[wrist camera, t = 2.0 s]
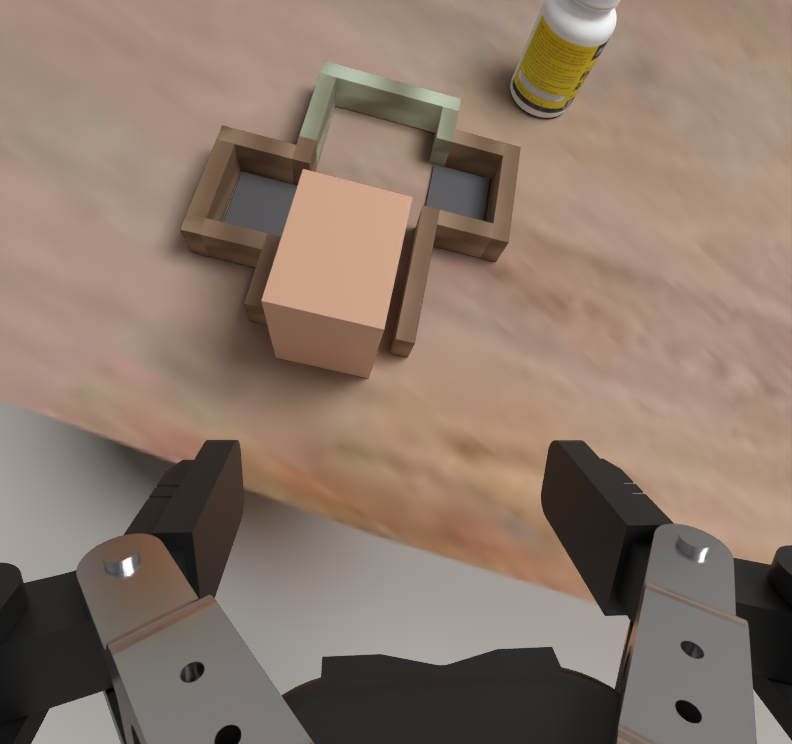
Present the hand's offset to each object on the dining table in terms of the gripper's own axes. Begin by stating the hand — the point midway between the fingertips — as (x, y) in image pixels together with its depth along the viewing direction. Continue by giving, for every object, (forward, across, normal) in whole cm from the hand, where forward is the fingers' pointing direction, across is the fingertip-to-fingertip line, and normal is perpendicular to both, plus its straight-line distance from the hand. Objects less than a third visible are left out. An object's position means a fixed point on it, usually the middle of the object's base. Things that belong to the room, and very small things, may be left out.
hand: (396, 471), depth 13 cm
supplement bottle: (+35, -14, -15) cm, 41 cm away
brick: (+21, +2, +1) cm, 21 cm away
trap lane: (+26, 0, -5) cm, 26 cm away
